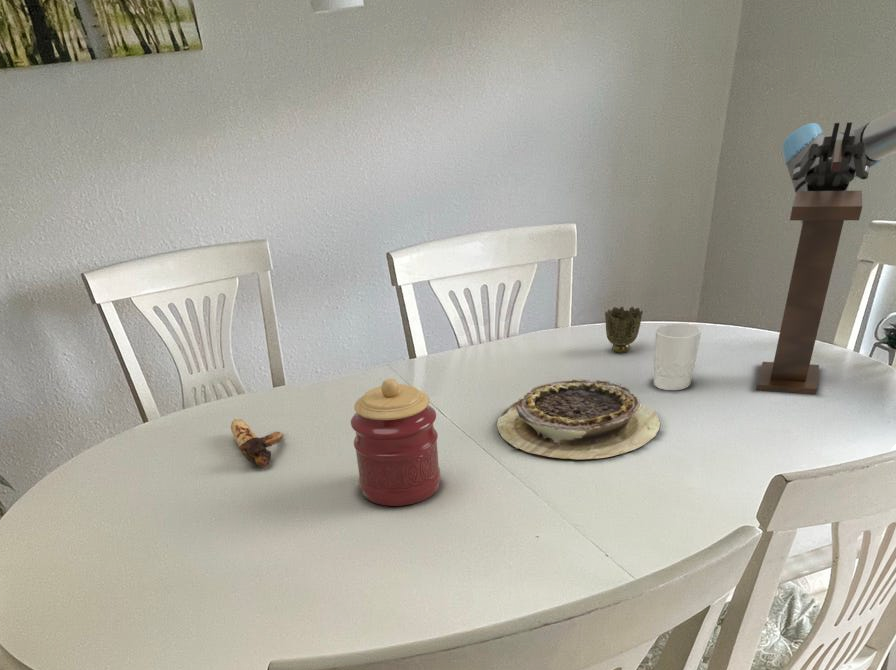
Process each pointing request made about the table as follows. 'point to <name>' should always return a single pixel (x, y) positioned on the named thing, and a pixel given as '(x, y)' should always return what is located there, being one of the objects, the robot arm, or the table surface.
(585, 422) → the pie
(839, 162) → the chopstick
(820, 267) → the stand
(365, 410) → the kitchen canister
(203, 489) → the table surface
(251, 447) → the lashed bone hook
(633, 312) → the cup
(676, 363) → the white cup
